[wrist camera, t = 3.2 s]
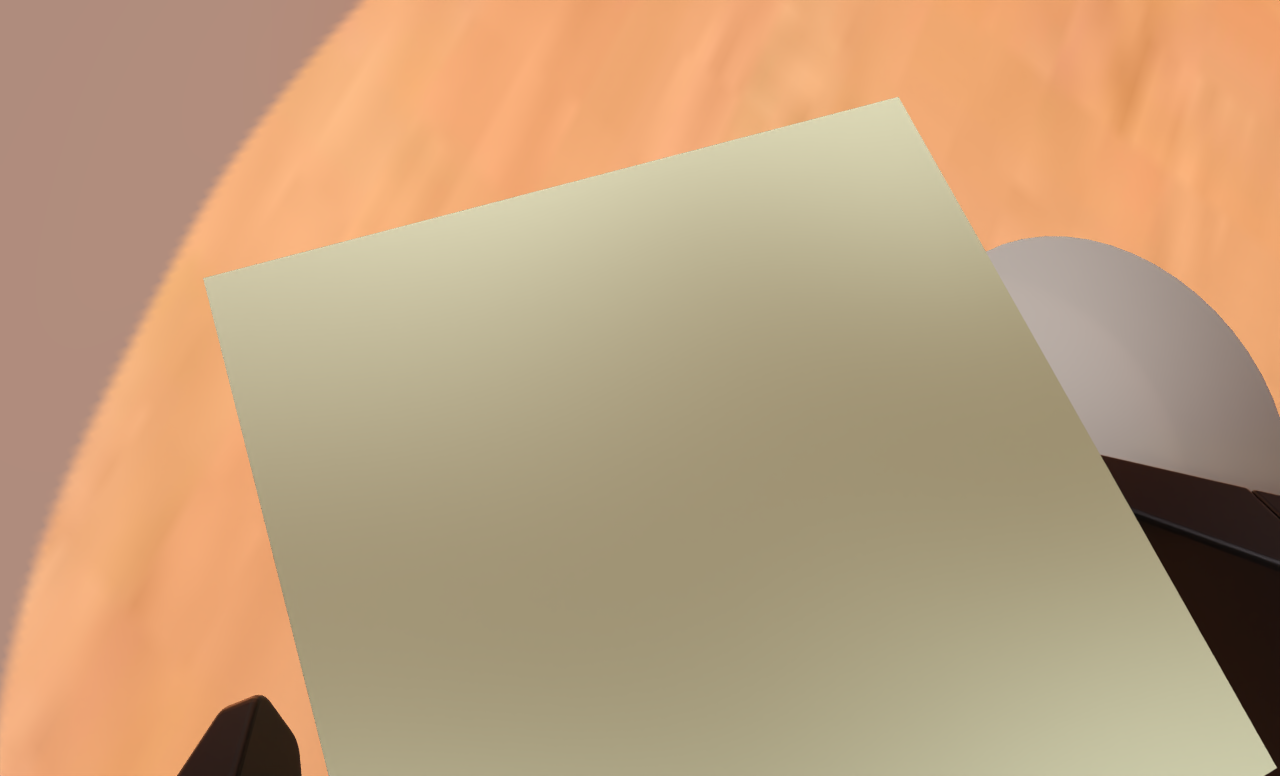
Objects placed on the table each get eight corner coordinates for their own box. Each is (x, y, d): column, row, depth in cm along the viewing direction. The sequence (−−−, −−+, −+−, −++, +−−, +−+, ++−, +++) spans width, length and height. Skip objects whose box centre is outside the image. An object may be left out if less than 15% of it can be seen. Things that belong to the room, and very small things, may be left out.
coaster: (1283, 657, 18) (1324, 660, 17) (890, 602, 17) (910, 602, 16) (1225, 287, 22) (1256, 272, 21) (894, 223, 21) (911, 205, 20)
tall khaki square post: (726, 642, 16) (1275, 766, 4) (526, 732, 15) (454, 1281, 3) (649, 450, 18) (897, 97, 5) (458, 520, 16) (203, 278, 4)
